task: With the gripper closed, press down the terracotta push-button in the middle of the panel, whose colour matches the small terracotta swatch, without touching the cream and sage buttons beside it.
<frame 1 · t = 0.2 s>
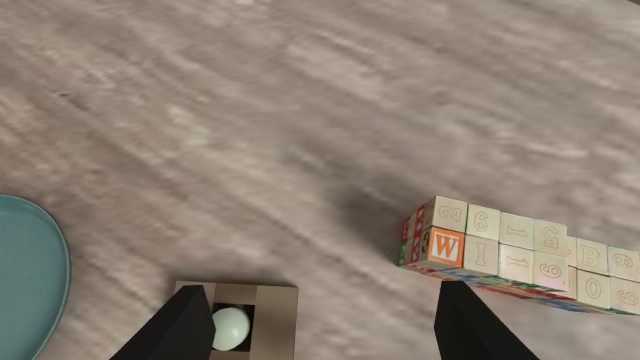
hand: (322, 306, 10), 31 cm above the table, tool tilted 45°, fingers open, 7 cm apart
stack of blocks: (482, 264, 40), on the table
sage button: (229, 327, 35), point 3 cm above the table, slide at 0.0 cm
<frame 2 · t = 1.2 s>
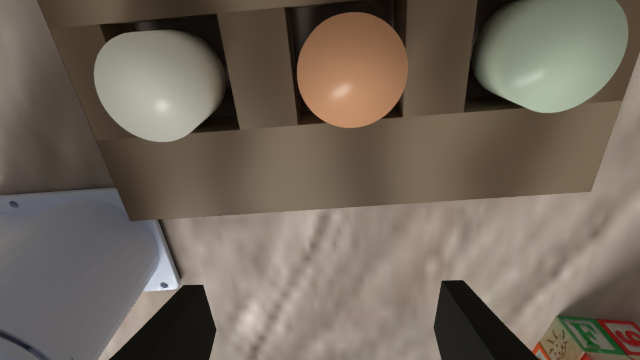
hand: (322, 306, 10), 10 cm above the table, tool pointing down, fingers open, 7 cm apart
sage button: (540, 52, 13), point 3 cm above the table, slide at 0.0 cm
panel: (344, 59, 16), on the table
terracotta button: (349, 68, 13), point 3 cm above the table, slide at 0.0 cm
cream button: (167, 83, 13), point 3 cm above the table, slide at 0.0 cm
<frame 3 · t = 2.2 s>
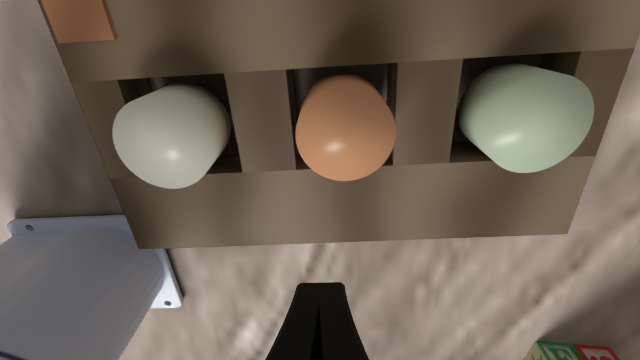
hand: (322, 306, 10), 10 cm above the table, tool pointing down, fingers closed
sage button: (517, 116, 14), point 3 cm above the table, slide at 0.0 cm
panel: (340, 106, 17), on the table
terracotta button: (343, 125, 14), point 3 cm above the table, slide at 0.0 cm
cream button: (177, 134, 14), point 3 cm above the table, slide at 0.0 cm
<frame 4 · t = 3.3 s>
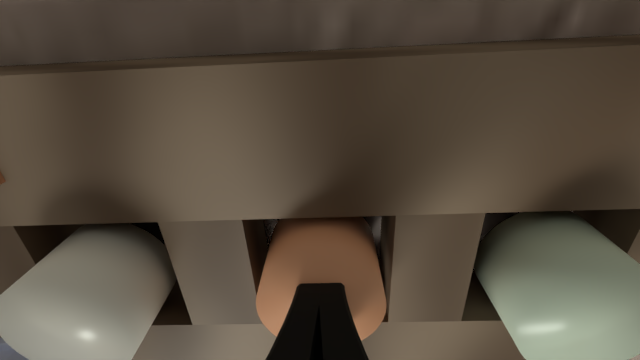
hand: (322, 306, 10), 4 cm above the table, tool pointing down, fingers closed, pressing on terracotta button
sage button: (558, 286, 10), point 3 cm above the table, slide at 0.0 cm
panel: (322, 231, 13), on the table
terracotta button: (321, 272, 11), point 2 cm above the table, slide at 0.8 cm, touching gripper
cream button: (98, 295, 11), point 3 cm above the table, slide at 0.0 cm
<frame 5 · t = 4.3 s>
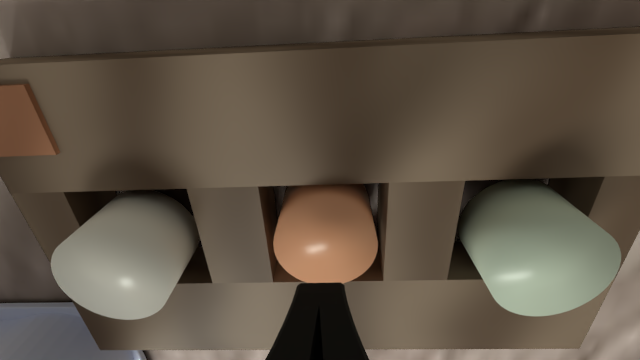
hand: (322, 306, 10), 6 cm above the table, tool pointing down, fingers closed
sage button: (528, 244, 12), point 3 cm above the table, slide at 0.0 cm
panel: (326, 204, 15), on the table
terracotta button: (325, 224, 14), point 2 cm above the table, slide at 1.6 cm
cream button: (134, 252, 12), point 3 cm above the table, slide at 0.0 cm
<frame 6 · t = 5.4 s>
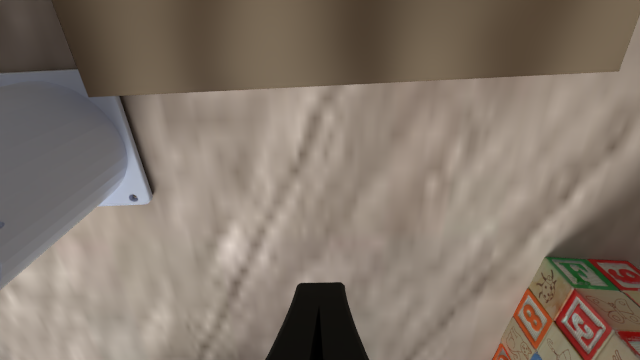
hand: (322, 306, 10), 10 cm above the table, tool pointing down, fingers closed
stack of blocks: (527, 350, 28), on the table
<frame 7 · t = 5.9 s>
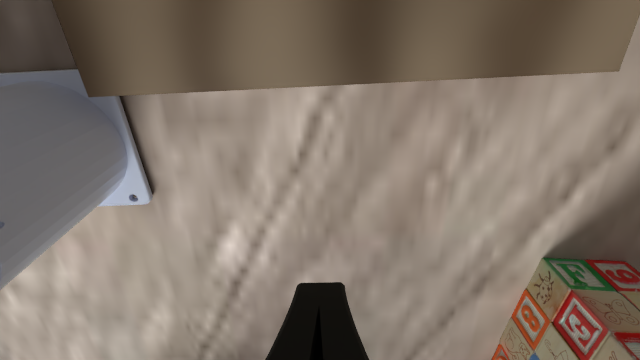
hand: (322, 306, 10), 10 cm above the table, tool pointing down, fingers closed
stack of blocks: (527, 350, 28), on the table
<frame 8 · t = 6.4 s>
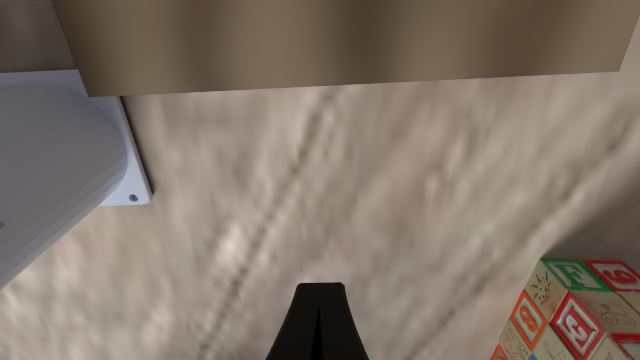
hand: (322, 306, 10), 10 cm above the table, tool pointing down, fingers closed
stack of blocks: (526, 351, 28), on the table
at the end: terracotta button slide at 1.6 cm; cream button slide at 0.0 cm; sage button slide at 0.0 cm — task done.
